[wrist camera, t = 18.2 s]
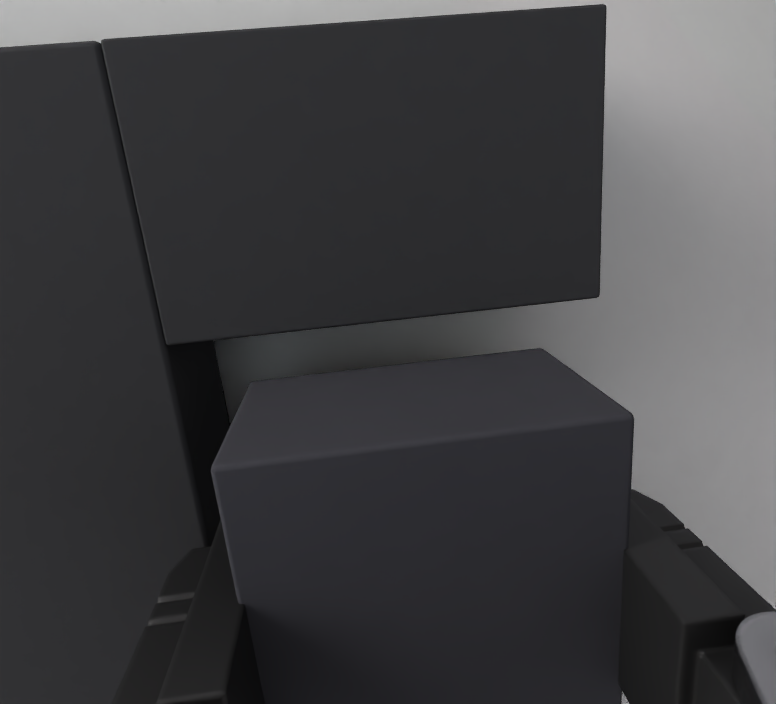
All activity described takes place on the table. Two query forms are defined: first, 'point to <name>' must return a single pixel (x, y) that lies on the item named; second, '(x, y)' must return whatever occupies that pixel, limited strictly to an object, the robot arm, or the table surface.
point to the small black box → (430, 532)
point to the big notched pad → (245, 265)
